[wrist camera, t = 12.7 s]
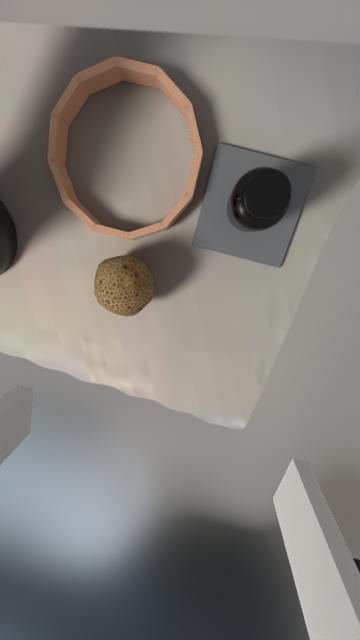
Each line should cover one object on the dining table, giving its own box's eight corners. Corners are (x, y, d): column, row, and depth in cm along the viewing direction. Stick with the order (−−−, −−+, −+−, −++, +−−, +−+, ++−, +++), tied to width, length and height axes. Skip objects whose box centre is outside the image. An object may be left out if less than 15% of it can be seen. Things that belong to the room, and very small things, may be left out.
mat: (192, 244, 40) (192, 245, 40) (217, 144, 36) (217, 142, 35) (278, 267, 40) (279, 267, 39) (314, 168, 36) (316, 167, 35)
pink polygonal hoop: (54, 219, 41) (43, 217, 38) (68, 57, 35) (55, 40, 32) (180, 252, 41) (178, 252, 38) (218, 95, 34) (219, 81, 31)
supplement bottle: (235, 175, 36) (248, 145, 25) (281, 189, 36) (316, 166, 25) (219, 225, 38) (225, 218, 27) (262, 238, 38) (287, 237, 27)
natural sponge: (158, 310, 44) (145, 329, 34) (108, 304, 44) (81, 321, 35) (161, 255, 41) (149, 260, 32) (108, 250, 42) (79, 253, 32)
